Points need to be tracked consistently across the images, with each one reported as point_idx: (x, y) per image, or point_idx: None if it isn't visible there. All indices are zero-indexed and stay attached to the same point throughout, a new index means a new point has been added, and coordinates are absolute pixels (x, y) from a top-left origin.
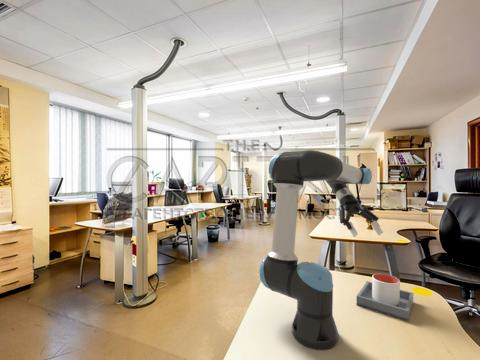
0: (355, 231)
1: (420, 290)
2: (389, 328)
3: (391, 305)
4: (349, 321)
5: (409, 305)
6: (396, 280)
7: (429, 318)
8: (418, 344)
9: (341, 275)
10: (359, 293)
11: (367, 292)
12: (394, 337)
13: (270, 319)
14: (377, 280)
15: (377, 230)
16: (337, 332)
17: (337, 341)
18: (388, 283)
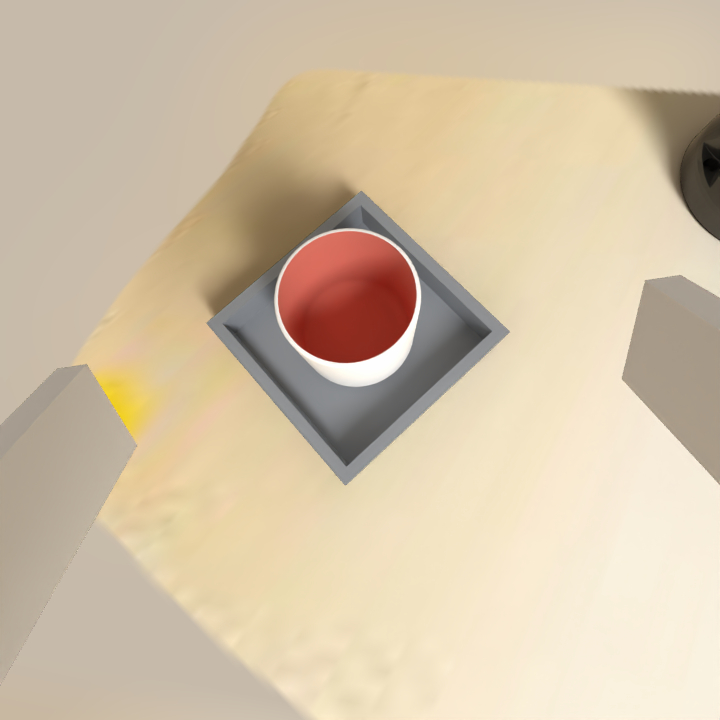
0: (716, 300)
1: None
2: (462, 188)
3: (398, 235)
4: (592, 239)
5: (320, 227)
6: (282, 294)
7: (267, 225)
8: (426, 114)
9: (391, 705)
10: (480, 352)
11: (383, 428)
12: (478, 147)
13: None
14: (416, 276)
15: (76, 469)
16: (708, 128)
17: (694, 138)
18: (379, 234)
